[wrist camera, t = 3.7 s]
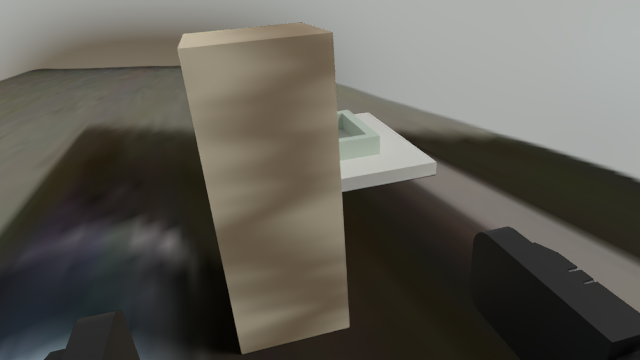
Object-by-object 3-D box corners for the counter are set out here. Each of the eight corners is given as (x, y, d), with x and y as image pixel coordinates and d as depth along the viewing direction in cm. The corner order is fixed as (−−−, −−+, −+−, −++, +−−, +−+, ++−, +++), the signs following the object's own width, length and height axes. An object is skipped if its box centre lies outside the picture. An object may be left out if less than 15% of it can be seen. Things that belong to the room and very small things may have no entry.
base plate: (244, 209, 28) (238, 175, 27) (231, 142, 40) (227, 117, 39) (435, 174, 31) (437, 142, 30) (368, 121, 43) (367, 97, 42)
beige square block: (241, 354, 17) (177, 48, 12) (233, 284, 21) (183, 33, 16) (349, 327, 18) (332, 32, 13) (322, 265, 22) (300, 22, 17)
